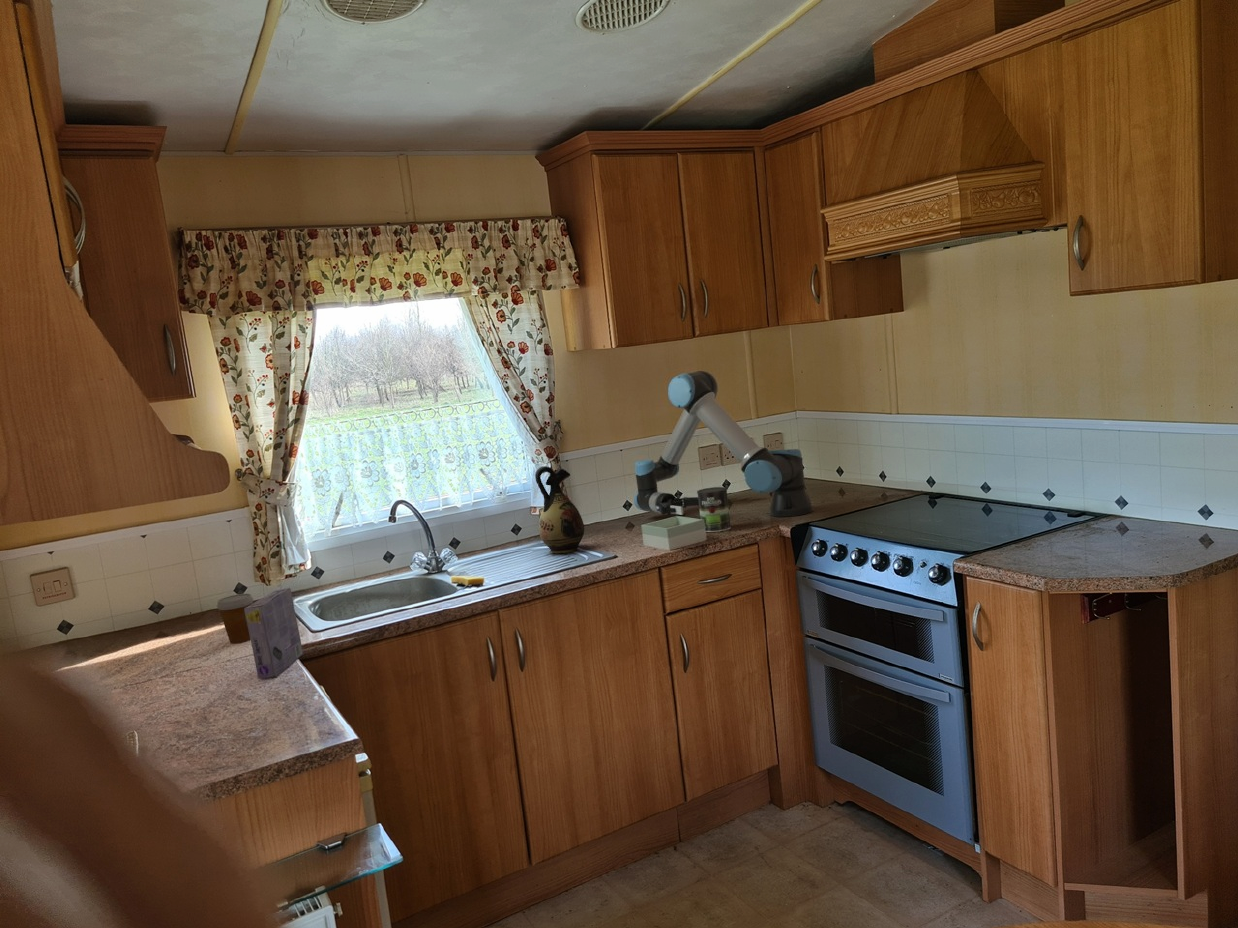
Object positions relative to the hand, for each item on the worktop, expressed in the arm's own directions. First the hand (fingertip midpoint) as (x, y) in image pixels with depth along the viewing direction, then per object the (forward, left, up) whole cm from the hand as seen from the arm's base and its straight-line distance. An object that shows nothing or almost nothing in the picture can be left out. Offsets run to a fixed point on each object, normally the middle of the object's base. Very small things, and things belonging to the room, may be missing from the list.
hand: (697, 506), depth 335 cm
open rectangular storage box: (+20, +12, -7) cm, 24 cm away
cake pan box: (+151, +30, -8) cm, 155 cm away
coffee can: (0, +9, -8) cm, 12 cm away
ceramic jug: (+47, -17, -8) cm, 50 cm away
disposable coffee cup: (+154, -8, -8) cm, 154 cm away
